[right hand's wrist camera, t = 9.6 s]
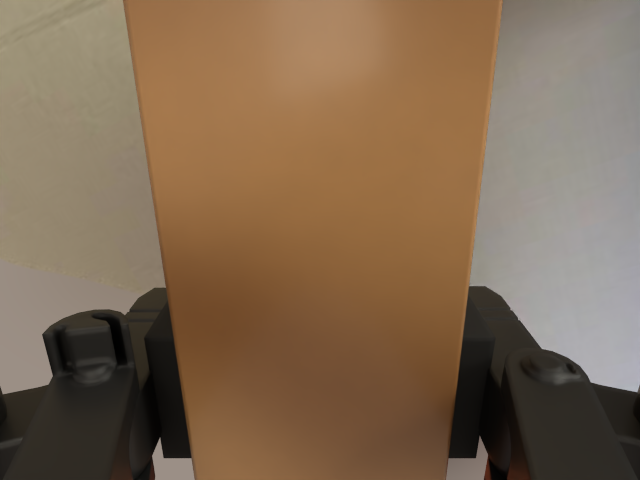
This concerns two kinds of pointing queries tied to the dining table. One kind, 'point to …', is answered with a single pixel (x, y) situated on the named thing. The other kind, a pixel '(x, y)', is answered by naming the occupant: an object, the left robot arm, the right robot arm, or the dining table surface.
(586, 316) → the dining table surface
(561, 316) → the dining table surface
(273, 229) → the beam
